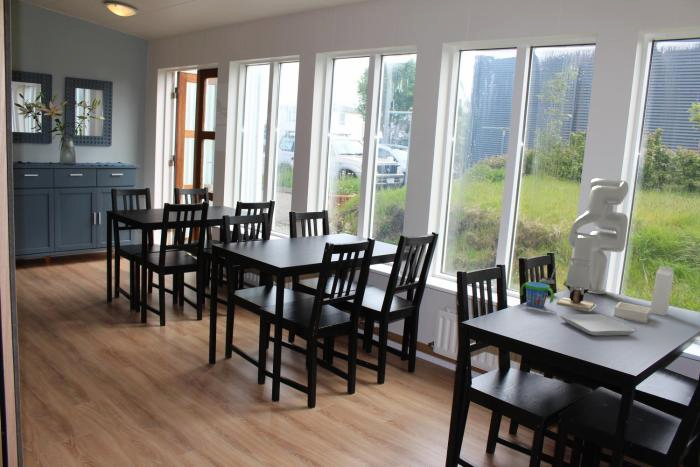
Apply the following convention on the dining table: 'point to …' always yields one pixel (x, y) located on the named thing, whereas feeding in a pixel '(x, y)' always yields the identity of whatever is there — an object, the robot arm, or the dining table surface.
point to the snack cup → (536, 293)
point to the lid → (576, 302)
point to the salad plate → (597, 324)
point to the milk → (662, 290)
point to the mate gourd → (549, 282)
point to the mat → (579, 309)
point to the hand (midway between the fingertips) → (575, 300)
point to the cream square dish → (632, 312)
